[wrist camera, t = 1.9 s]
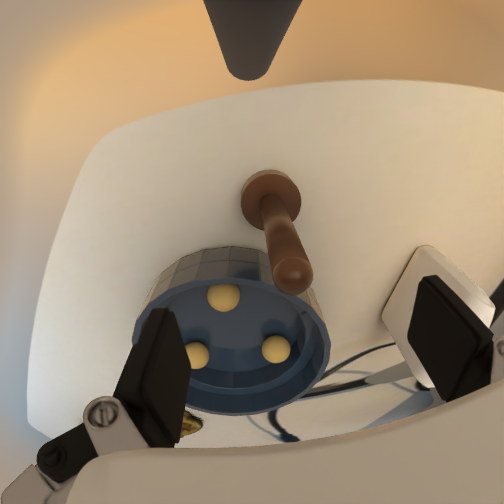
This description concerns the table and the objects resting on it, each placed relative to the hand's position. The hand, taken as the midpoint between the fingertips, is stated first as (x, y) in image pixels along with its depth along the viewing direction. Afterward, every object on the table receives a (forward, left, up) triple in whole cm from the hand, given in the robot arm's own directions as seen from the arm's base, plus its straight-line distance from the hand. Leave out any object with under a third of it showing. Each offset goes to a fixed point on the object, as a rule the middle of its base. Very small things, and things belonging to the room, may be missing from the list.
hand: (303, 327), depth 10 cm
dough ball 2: (+8, -5, -14) cm, 17 cm away
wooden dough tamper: (0, 0, -16) cm, 16 cm away
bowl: (+13, -5, -16) cm, 21 cm away
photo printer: (+11, +15, -17) cm, 25 cm away
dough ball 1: (+15, -9, -14) cm, 23 cm away
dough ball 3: (+15, -1, -14) cm, 21 cm away
